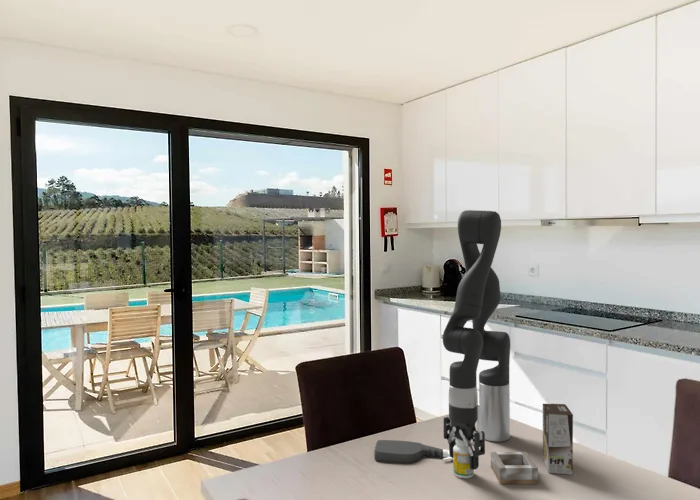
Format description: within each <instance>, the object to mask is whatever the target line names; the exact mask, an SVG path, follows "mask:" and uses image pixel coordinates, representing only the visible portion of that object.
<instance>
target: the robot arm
mask: <svg viewBox="0 0 700 500" xmlns="http://www.w3.org/2000/svg"><path fill="white" fill-rule="evenodd" d="M501 231H502V219H501V215H500V214H499V213H498V212H497V211H493V210H492V211H491V210H475V209H474V210H471V209H470V210H469V209H468V210H464V211H461V212H460V214H459V216H458V218H457V234H458V239H459V243H460V248H461V252H462V253H461V254H462V257H463V262H464V267H465V274H464V276H462V277H461V280H460V282H459V283H458V286H457V290H456V297H455V301H454V303H455V304H454V309H453V311H452V313H451V315H450V318H449V320H448V322H447V324H446V326H445V328H444V330H443V334H442V343H443V347H444V348H445V350H446V351H447V352H450V353H454V354H461V355H464V356H463V360H460V361H453V362H452V363H451V364H450V366H449V389H448V416H445V417H443V439H444V440H447V443H448V450H449V453H450V457H451V458H453V447H454V446H455V445H456V437H457V438H458V439H460V440H462V441H464V444H465V446H466V447H467V448H468V450H469V453H470V469H472V470H477V469H478V468H479V466H480V463H479V456H482V455H485V454H486V447H485V446H486V441H489V442H494V443H495V442H496V443H497V442H506V441H508V440H509V439H510V438H511V436H510V435H511V431H510V430H511V426H510V424H511V421H510V420H511V419H510V418H511V415H510V413H511V412H510V411H511V410H510V409H511V408H510V395H511V394H510V393H511V392H510V359H511V358H510V357H511V338H510V334H509V333H508V332H505V331H497V330H494V331H493V330H486V329H485V327H486V324H487V322H488V321H489V319H490V317H491V316H492V315H493V313H494V312H496V309H497V308H498V306H499V305H500V302H501V297H502V296H501V295H502V294H501V287H500V279H499V277H498V275H497V274H496V272H495V270H494V269H493V268H492V265H493V261H494V259H495V254H496V251H497V247H498V243H499V241H500V236H501V233H502V232H501ZM478 245H482V249H481V252H480V250H479V247H478ZM469 321H472V327H465V325H466V323H467V322H469ZM480 360H483V361H488V362H489V361H491V362H498V364H497V365H496V366H494V367H491V368H487V369H483V370H481V371H480V372H479V374H478V382H477V371H478V367H479V366H478V365H479V362H480ZM477 383H478V385H477ZM477 386H478V387H477ZM478 391H479V392H478ZM476 424H477V426H476ZM468 441H471V443H469V442H468ZM472 447H473V449H472ZM473 450H474V451H473Z"/></svg>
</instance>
